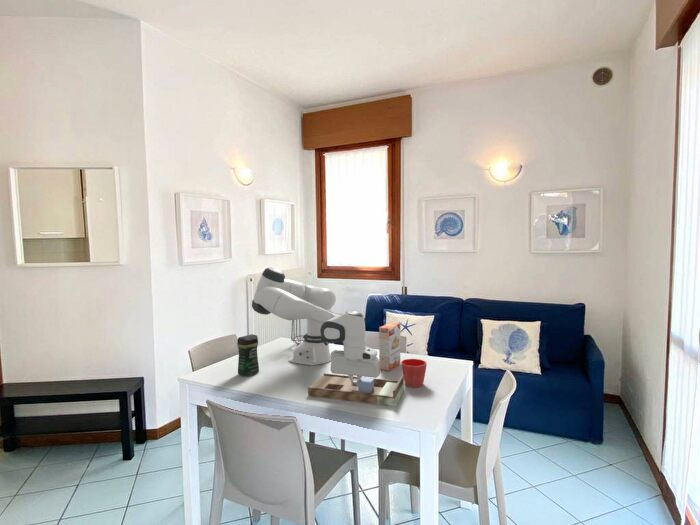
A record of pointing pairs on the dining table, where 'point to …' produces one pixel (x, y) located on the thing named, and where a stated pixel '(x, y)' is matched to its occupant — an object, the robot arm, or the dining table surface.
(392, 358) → the cracker box
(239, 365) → the coffee jar
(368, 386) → the cube
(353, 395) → the box
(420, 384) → the flower pot
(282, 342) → the dining table surface
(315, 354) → the robot arm
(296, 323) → the geometric lantern
